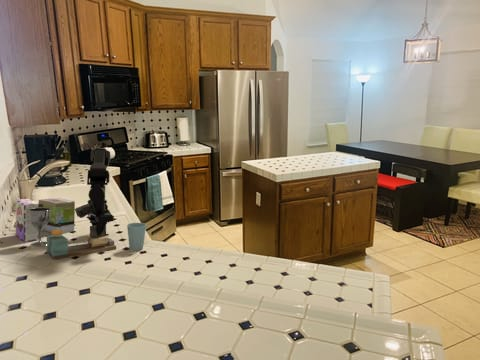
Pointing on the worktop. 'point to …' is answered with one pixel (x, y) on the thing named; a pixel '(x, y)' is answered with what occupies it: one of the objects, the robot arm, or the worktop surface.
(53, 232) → the button
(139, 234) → the cup
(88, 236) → the carriage
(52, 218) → the tea box
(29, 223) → the candy box
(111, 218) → the robot arm
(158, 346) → the worktop surface
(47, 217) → the wine glass
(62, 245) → the rail
